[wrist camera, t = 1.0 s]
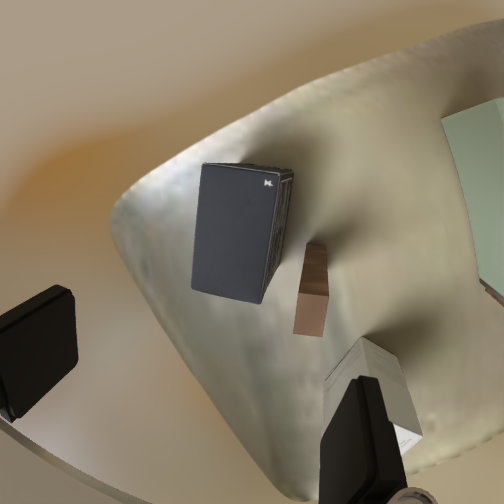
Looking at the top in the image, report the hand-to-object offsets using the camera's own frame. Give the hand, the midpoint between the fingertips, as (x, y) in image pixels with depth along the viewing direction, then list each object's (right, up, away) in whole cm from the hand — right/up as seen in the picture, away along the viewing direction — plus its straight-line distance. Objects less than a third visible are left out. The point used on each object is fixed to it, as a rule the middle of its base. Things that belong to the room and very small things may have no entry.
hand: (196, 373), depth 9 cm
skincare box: (+15, -10, +27) cm, 33 cm away
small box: (+2, +8, +25) cm, 26 cm away
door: (+26, +9, +19) cm, 33 cm away
